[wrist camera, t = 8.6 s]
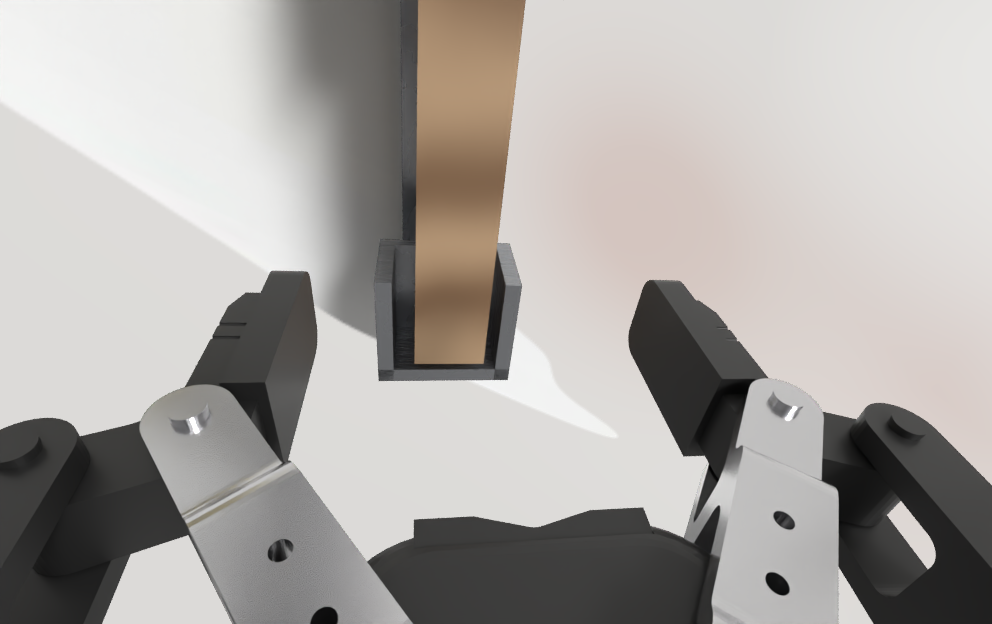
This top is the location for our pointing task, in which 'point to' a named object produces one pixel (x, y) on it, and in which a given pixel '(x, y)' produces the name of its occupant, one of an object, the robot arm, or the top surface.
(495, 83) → the rail
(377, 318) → the bracket stand
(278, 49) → the top surface
